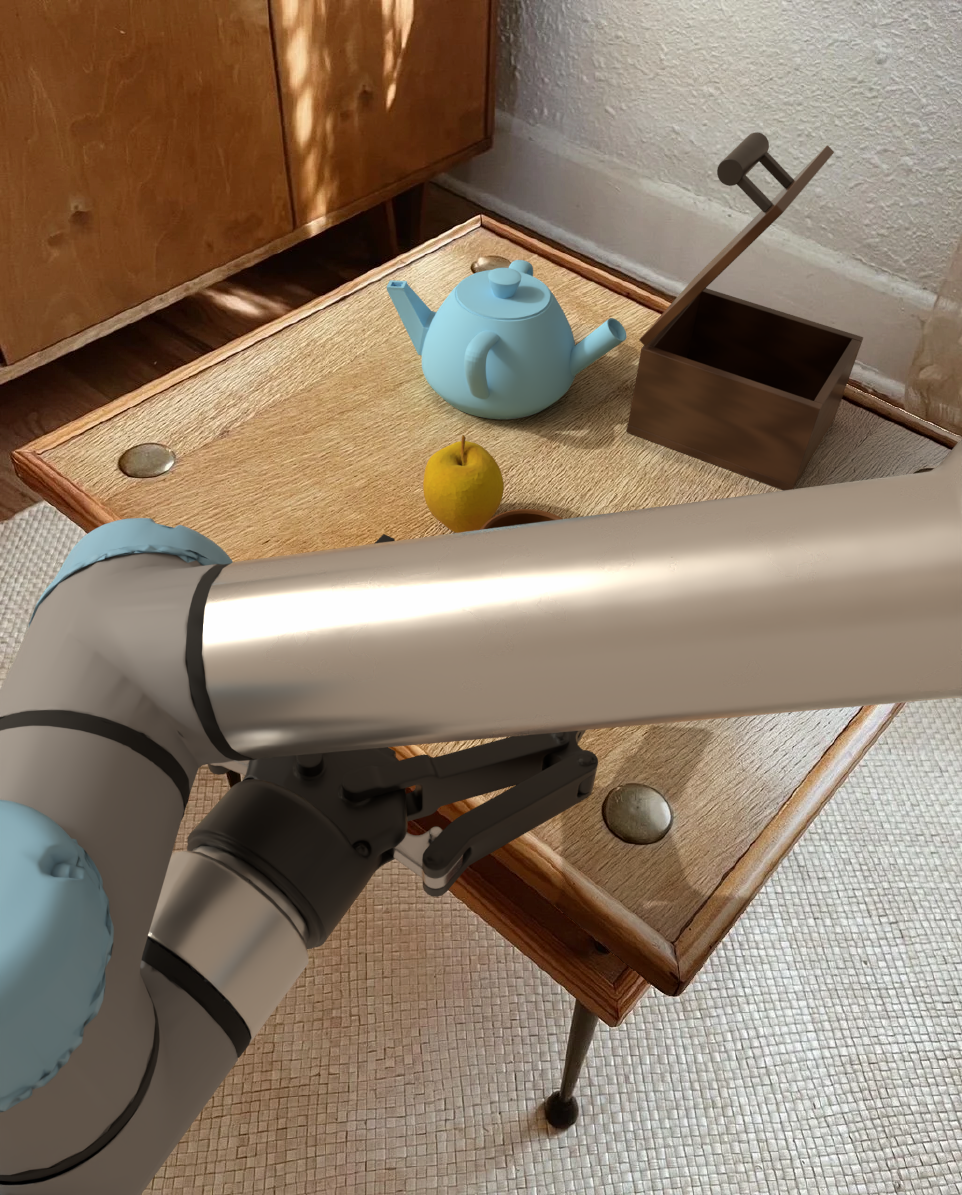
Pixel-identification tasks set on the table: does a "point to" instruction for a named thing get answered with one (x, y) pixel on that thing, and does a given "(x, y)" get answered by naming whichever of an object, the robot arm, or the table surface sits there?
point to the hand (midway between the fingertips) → (492, 598)
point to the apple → (463, 486)
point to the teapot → (499, 342)
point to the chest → (742, 387)
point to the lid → (735, 173)
